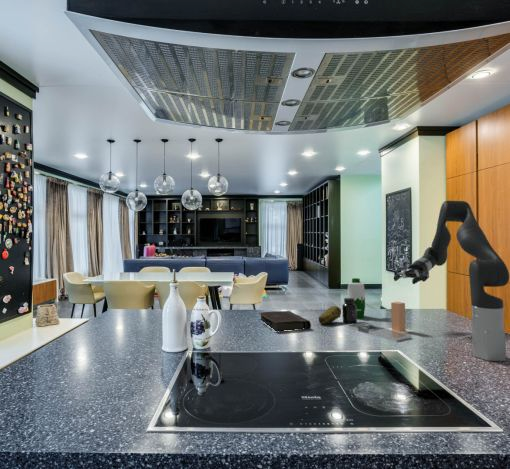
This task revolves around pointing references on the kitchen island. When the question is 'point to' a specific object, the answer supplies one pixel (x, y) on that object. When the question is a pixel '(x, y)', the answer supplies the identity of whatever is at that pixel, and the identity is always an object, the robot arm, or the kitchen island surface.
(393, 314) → the block
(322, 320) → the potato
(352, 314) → the supplement bottle
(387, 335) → the grey slotted base
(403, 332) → the pad
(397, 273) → the robot arm
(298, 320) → the diary
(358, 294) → the green and white bottle
